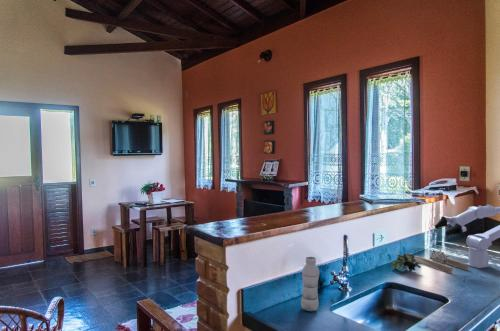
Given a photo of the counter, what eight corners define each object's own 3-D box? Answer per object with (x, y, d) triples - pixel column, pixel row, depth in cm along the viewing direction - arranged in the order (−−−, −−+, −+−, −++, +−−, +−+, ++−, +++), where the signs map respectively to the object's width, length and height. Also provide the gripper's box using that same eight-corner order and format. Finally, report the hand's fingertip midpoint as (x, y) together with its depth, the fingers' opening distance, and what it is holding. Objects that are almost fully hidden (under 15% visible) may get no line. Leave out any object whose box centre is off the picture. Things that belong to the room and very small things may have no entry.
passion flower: (409, 280, 188) (425, 264, 184) (401, 282, 180) (417, 265, 176) (393, 264, 195) (408, 248, 191) (384, 264, 187) (400, 248, 183)
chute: (431, 258, 209) (431, 253, 209) (468, 270, 189) (468, 264, 189) (414, 261, 204) (414, 255, 204) (450, 273, 184) (450, 267, 184)
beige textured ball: (442, 272, 196) (452, 261, 190) (426, 266, 198) (436, 254, 192) (441, 260, 203) (451, 249, 197) (426, 254, 205) (435, 242, 198)
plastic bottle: (299, 306, 143) (300, 255, 142) (316, 305, 143) (317, 255, 142) (302, 313, 136) (303, 260, 135) (320, 313, 137) (321, 260, 136)
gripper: (450, 207, 199) (429, 218, 197) (472, 219, 186) (450, 230, 184) (452, 218, 202) (431, 228, 200) (474, 230, 189) (452, 241, 187)
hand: (440, 230), depth 192 cm, fingers open, 7 cm apart
